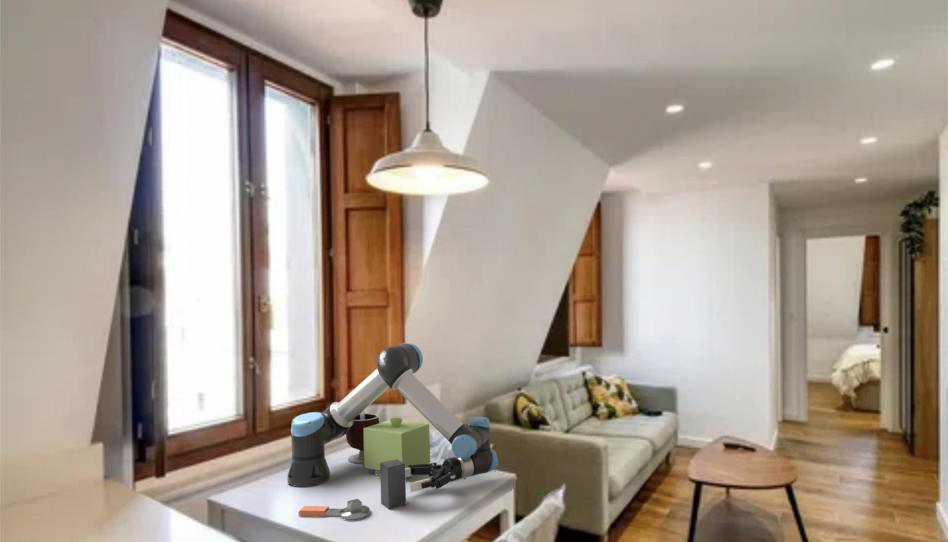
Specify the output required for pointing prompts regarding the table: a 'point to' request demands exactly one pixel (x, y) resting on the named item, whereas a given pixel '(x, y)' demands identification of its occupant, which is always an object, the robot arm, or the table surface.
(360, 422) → the mate gourd
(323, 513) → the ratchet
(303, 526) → the table surface
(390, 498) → the dark grey block
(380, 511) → the table surface
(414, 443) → the container
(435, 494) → the table surface
